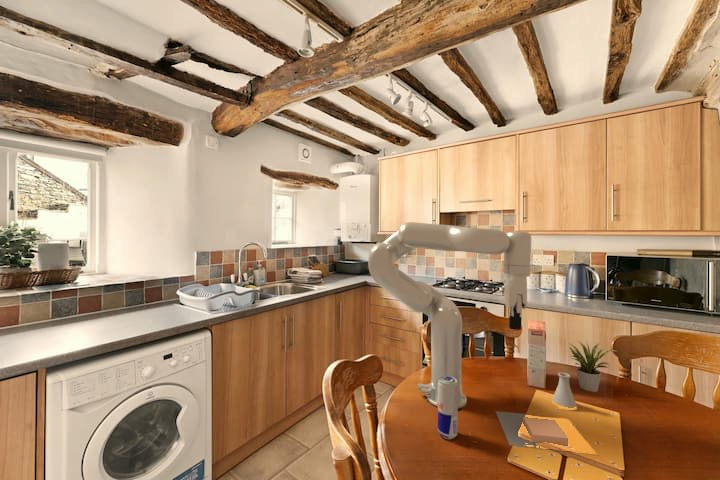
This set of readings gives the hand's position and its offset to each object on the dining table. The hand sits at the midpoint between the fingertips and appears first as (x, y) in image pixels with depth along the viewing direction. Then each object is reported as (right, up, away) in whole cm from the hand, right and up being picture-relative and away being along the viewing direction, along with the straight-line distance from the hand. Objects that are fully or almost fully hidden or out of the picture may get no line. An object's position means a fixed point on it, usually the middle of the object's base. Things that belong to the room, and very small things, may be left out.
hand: (514, 328), depth 98 cm
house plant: (+33, -24, +11) cm, 43 cm away
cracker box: (+17, -25, +18) cm, 35 cm away
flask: (+15, -25, 0) cm, 29 cm away
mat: (0, -24, -14) cm, 28 cm away
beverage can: (-25, -25, -14) cm, 38 cm away
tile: (+1, -23, -12) cm, 26 cm away
